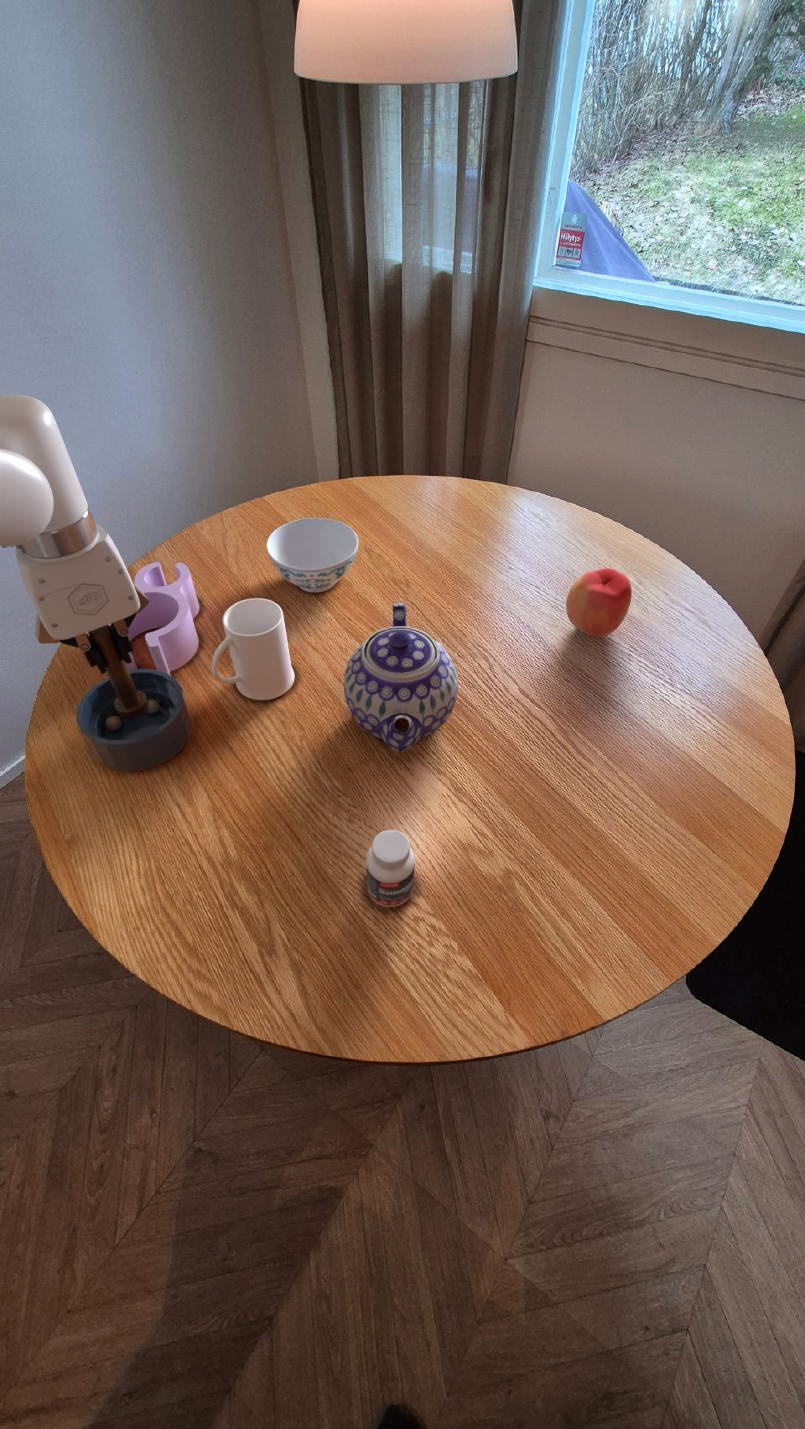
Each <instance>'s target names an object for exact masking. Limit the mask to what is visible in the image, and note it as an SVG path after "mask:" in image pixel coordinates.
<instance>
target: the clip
mask: <svg viewBox="0 0 805 1429" xmlns="http://www.w3.org/2000/svg"><path fill="white" fill-rule="evenodd" d="M174 567H175V572H176V574H177V578H178V579H177V580H175V581H174V582H172V583H170V584H167V582H166V579H165V576H164V572H163V569H162V565H161V563H160V561H153V562H152V563H149V564H146V565H145V566H143V567H141V568H140V569H139V570H138V571H137V572H136V574H135V577H134V583H133V585H135V586H136V587H137V588H138V589H139V590H140V591H141V592H143V593H144V594H145V595H146V597H147V598H148V600H149V604H148V605H147V606H146V607H145V608H144V609H143V610H141V611H140V612H139V613H137V614H136V617H135V618H134V620H133V622H132V623H131V625H130V627H129V628H128V630H129V634H128V635H127V636H128V639H129V641H130V642H132V640H133V639H134V638H135V637H137V636H138V635H140V634H142V633H144V632H147V631H150V630H153V629H157V630H154V631H151V632H147V633H145V636H144V637H145V642H146V645H147V649H148V651H149V653H150V656H151V658H152V659H151V660H152V661H153V664H154V667H155V670H157V671H161V672H164V673H167V674H169V675H170V676H172V675H171V672H173V671H176V670H178V669H180V668H181V667H183V666H185V665H186V664H187V663H188V662H189V661H191V660H192V659H193V657H194V656H195V655H196V654H197V651H198V648H199V646H200V644H199V643H200V641H199V637H198V634H197V630H196V626H195V622H194V619H195V618H196V617H197V615H198V614H199V612H200V604H199V600H198V597H197V592H196V589H195V586H194V582H193V579H192V578H193V577H192V574H191V571H190V568H189V566H187V564H185V563H183V562H177V563H176V564H174ZM110 625H111V624H109V626H110ZM158 628H159V629H158ZM129 656H130V658H131V660H132V663H129V664H128V663H125V664H126V666H127V669H128V671H129V670H135V669H138V666H137V663H136V660H135V658H134V656H133V652H129ZM124 662H125V661H124Z"/></svg>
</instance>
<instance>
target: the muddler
mask: <svg viewBox="0 0 805 1429" xmlns="http://www.w3.org/2000/svg"><path fill="white" fill-rule="evenodd" d="M87 634H88V636H90V637H91V640H92V642H93V643H94V644H95V646H96V648H97V650H98V652H99V654H100V656H101V658H102V661H103V663H104V665H105V667H106V669H107V671H106V674H107V677H109V679H110V681H111V683H112V686H113V688H114V690H115V692H116V694H117V698H116V700H115V702H114V706H115V708H116V710H117V713H118V715H119V716H120V717H121V718H123V719H127V720H133V719H137V718H139V717H141V716H143V715H144V714H145V713H146V712H147V711H148V709H149V702H148V700H147V697H146V695H145V694H144V693H143V692H142V691H139V690H136V688H135V685H134V683H133V681H132V678H131V676H130V674H129V671H128V669H127V666H126V664H125V662H124V660H123V657H122V655H121V653H120V650H119V648H118V645H117V643H116V641H115V638H114V636H113V633H112V631H111V628H110V626H109V624H108V625H106V626H103V627H100V628H98V629H95V630H92V631H90V632H87Z"/></svg>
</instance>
